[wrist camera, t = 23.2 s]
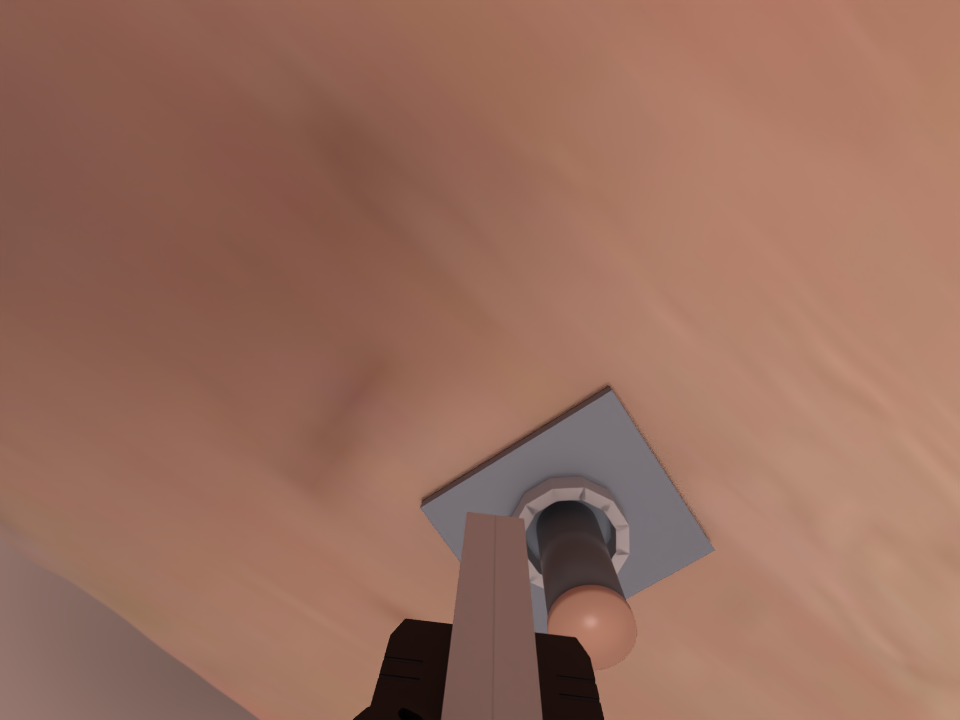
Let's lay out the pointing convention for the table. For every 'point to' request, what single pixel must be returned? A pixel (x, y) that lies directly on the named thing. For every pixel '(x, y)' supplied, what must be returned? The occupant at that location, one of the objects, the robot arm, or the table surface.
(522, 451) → the board
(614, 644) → the canister
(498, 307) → the table surface
